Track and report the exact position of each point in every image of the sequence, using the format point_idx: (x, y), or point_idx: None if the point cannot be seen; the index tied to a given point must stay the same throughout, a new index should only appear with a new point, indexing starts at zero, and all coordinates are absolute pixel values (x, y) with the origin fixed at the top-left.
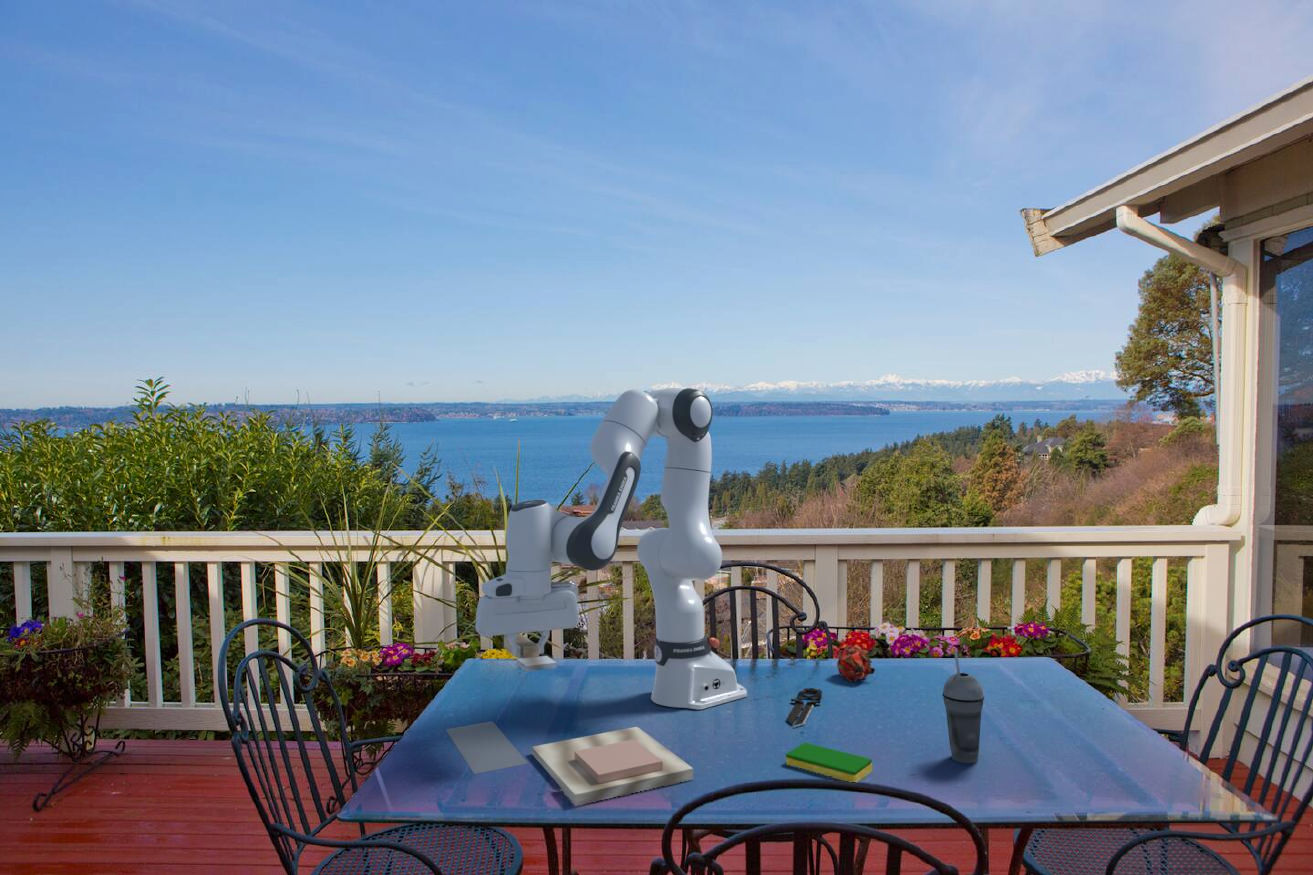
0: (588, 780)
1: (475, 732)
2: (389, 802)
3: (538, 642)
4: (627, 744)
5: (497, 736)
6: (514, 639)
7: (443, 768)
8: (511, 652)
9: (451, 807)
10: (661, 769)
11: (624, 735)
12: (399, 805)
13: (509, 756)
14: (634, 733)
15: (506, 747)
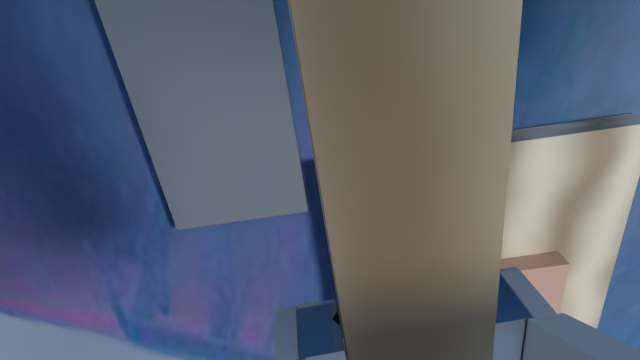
0: None
1: None
2: (7, 283)
3: (533, 326)
4: (537, 285)
5: None
6: (335, 136)
7: (91, 150)
8: (295, 48)
9: (144, 329)
10: None
11: (582, 175)
12: (35, 299)
13: (267, 155)
14: (613, 170)
15: (264, 86)
